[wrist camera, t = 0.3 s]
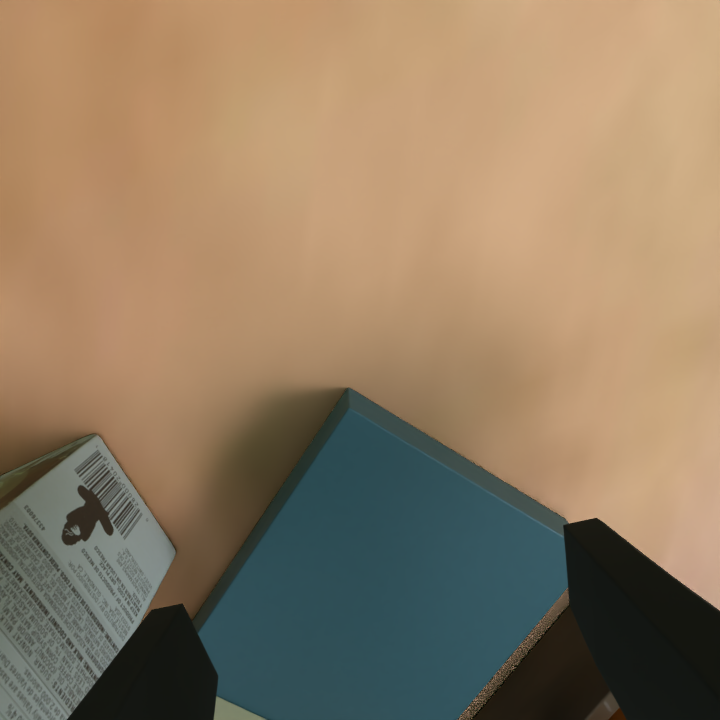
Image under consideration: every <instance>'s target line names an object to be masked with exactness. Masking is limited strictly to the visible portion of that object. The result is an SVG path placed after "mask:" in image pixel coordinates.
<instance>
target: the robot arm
mask: <svg viewBox="0 0 720 720" xmlns="http://www.w3.org/2000/svg"><path fill="white" fill-rule="evenodd" d="M563 529H564V542H565V554H566V566H567V578H568V591H569V603H570V607H571V610H572V612H573V614H574V617H575V619H576V621H577V624H578V626H579V628H580V631H581V633H582V635H583V637H584V640H585V642H586V644H587V646H588V648H589V651H590V653H591V655H592V657H593V660H594V662H595V664H596V666H597V668H598V670H599V671H600V673H601V675H602V677H603V679H604V680H605V682H606V684H607V686H608V687H609V689H610V691H611V693H612V695H613V696H614V698H615V700H616V702H617V703H618V705H619V707H620V709H621V711H622V712H623V714H624V716H625V718H626V719H627V720H720V611H719V610H718V609H717V608H715V607H714V606H713V605H711V604H710V603H708V602H707V601H706V600H704V599H703V598H701V597H700V596H699V595H697V594H696V593H694V592H693V591H692V590H690V589H689V588H688V587H686V586H685V585H684V584H682V583H681V582H680V581H678V580H677V579H675V578H674V577H673V576H671V575H670V574H669V573H668V572H666V571H665V570H664V569H662V568H661V567H660V566H658V565H657V564H656V563H654V562H653V561H652V560H651V559H649V558H648V557H647V556H645V555H644V554H643V553H642V552H640V551H639V550H638V549H636V548H635V547H634V546H633V545H631V544H630V543H629V542H627V541H626V540H625V539H624V538H622V537H621V536H620V535H619V534H617V533H616V532H615V531H614V530H612V529H611V528H610V527H609V526H607V525H606V524H605V523H603V522H602V521H601V520H599V519H597V518H594V519H589V520H584V521H580V522H575V523H570V524H565V525H563ZM217 685H218V674H217V672H216V670H215V668H214V666H213V664H212V662H211V660H210V658H209V656H208V654H207V652H206V650H205V647H204V645H203V643H202V641H201V639H200V637H199V635H198V633H197V631H196V629H195V627H194V625H193V623H192V621H191V619H190V617H189V615H188V613H187V611H186V609H185V607H184V605H183V604H178V605H173V606H168V607H163V608H158V609H154V610H151V612H150V613H149V614H148V615H147V616H146V618H145V619H144V620H143V621H142V623H141V624H140V625H139V626H138V628H137V629H136V630H135V632H134V633H133V634H132V636H131V637H130V638H129V639H128V641H127V642H126V643H125V645H124V646H123V647H122V649H121V650H120V651H119V652H118V654H117V655H116V656H115V658H114V659H113V660H112V662H111V663H110V664H109V666H108V667H107V668H106V670H105V671H104V672H103V673H102V675H101V676H100V677H99V679H98V680H97V681H96V683H95V684H94V685H93V687H92V688H91V689H90V690H89V692H88V693H87V694H86V696H85V697H84V698H83V699H82V701H81V702H80V703H79V705H78V706H77V707H76V708H75V710H74V711H73V712H72V713H71V715H70V716H69V717H68V719H67V720H214V713H215V704H216V695H217Z"/></svg>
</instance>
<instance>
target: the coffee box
mask: <svg viewBox="0 0 720 720" xmlns="http://www.w3.org/2000/svg"><path fill="white" fill-rule="evenodd" d="M175 555H176V551H175V548H174V547H173V545H172V543H171V542H170V540H169V539H168V537H167V536H166V534H165V533H164V531H163V530H162V528H161V527H160V525H159V524H158V522H157V521H156V519H155V518H154V516H153V515H152V513H151V512H150V510H149V509H148V507H147V506H146V505H145V503H144V502H143V500H142V499H141V497H140V496H139V494H138V493H137V491H136V490H135V488H134V487H133V485H132V484H131V482H130V481H129V479H128V478H127V476H126V475H125V473H124V472H123V471H122V469H121V468H120V466H119V465H118V463H117V462H116V460H115V459H114V457H113V456H112V454H111V453H110V451H109V450H108V448H107V447H106V445H105V444H104V442H103V441H102V439H101V438H100V437H99V436H98V435H97V434H92V435H89V436H86V437H84V438H81V439H79V440H77V441H75V442H72V443H70V444H68V445H66V446H63V447H61V448H59V449H57V450H55V451H53V452H51V453H49V454H46V455H44V456H42V457H40V458H38V459H36V460H34V461H31V462H29V463H27V464H25V465H23V466H21V467H19V468H16V469H14V470H12V471H10V472H8V473H6V474H4V475H2V476H0V720H67V719H68V717H69V716H70V715H71V713H72V712H73V711H74V710H75V708H76V707H77V706H78V705H79V703H80V702H81V701H82V699H83V698H84V697H85V696H86V694H87V693H88V692H89V690H90V689H91V688H92V687H93V685H94V684H95V683H96V681H97V680H98V679H99V677H100V676H101V675H102V673H103V672H104V671H105V670H106V668H107V667H108V666H109V664H110V663H111V662H112V660H113V659H114V658H115V656H116V655H117V654H118V652H119V651H120V650H121V649H122V647H123V646H124V645H125V643H126V642H127V641H128V639H129V638H130V637H131V636H132V634H133V633H134V632H135V630H136V629H137V628H138V626H139V624H140V622H141V620H142V618H143V616H144V614H145V612H146V610H147V609H148V608H149V605H150V603H151V601H152V599H153V597H154V596H155V594H156V592H157V590H158V588H159V586H160V584H161V582H162V580H163V578H164V576H165V575H166V573H167V571H168V569H169V567H170V565H171V563H172V561H173V559H174V557H175Z"/></svg>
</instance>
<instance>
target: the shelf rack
mask: <svg viewBox="0 0 720 720" xmlns="http://www.w3.org/2000/svg"><path fill="white" fill-rule="evenodd" d="M618 708H619V705H618V703H617V702H616V700H615V698H614V696H613V695H612V693H611V691H610V689H609V687H608V686H607V684H606V682H605V680H604V679H603V677H602V675H601V673H600V671H599V670H598V668H597V666H596V664H595V662H594V660H593V657H592V655H591V653H590V651H589V648H588V646H587V644H586V642H585V640H584V637H583V635H582V633H581V631H580V628H579V626H578V624H577V621H576V619H575V617H574V614H573V612H572V610H571V607H570V606H569V607H568V608H567V609H566V610H565V612H564V613H563V614H562V615H561V616H560V618H559V619H558V620H557V621H556V622H555V623H554V625H553V626H552V627H551V628H550V629H549V631H548V632H547V633H546V634H545V635H544V636H543V638H542V639H541V640H540V641H539V642H538V644H537V645H536V646H535V647H534V648H533V649H532V651H531V652H530V653H529V654H528V655H527V657H526V658H525V659H524V660H523V661H522V662H521V664H520V665H519V666H518V667H517V668H516V670H515V671H514V672H513V673H512V674H511V675H510V677H509V678H508V679H507V680H506V681H505V683H504V684H503V685H502V686H501V687H500V688H499V690H498V691H497V692H496V693H495V694H494V696H493V697H492V698H491V699H490V700H489V701H488V703H487V704H486V705H485V706H484V707H483V709H482V710H481V711H480V712H479V713H478V714H477V716H476V717H475V718H474V719H473V720H608V719H609V718H610V717H611V716H612V715H613V714H614V713H615V712H616V711H617V710H618Z"/></svg>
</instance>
